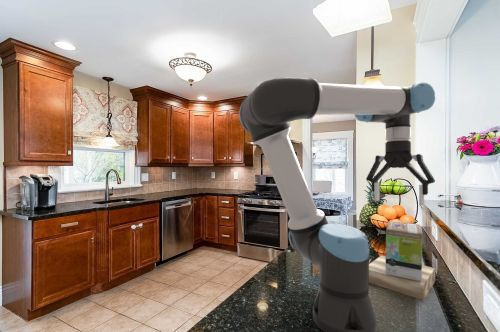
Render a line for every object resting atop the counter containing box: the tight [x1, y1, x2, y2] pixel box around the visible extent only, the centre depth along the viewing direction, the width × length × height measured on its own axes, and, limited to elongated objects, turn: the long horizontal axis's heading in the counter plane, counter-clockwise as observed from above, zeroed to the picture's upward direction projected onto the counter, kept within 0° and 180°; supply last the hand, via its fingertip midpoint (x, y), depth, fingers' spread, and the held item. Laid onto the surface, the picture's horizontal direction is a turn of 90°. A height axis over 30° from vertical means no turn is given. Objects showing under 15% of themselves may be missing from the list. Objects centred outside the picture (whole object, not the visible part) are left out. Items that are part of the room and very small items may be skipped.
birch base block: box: [369, 255, 436, 301], centre depth 84 cm, size 17×17×5 cm
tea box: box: [385, 221, 423, 281], centre depth 82 cm, size 15×10×15 cm, turn 148°
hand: (398, 202), depth 84 cm, fingers open, 13 cm apart
